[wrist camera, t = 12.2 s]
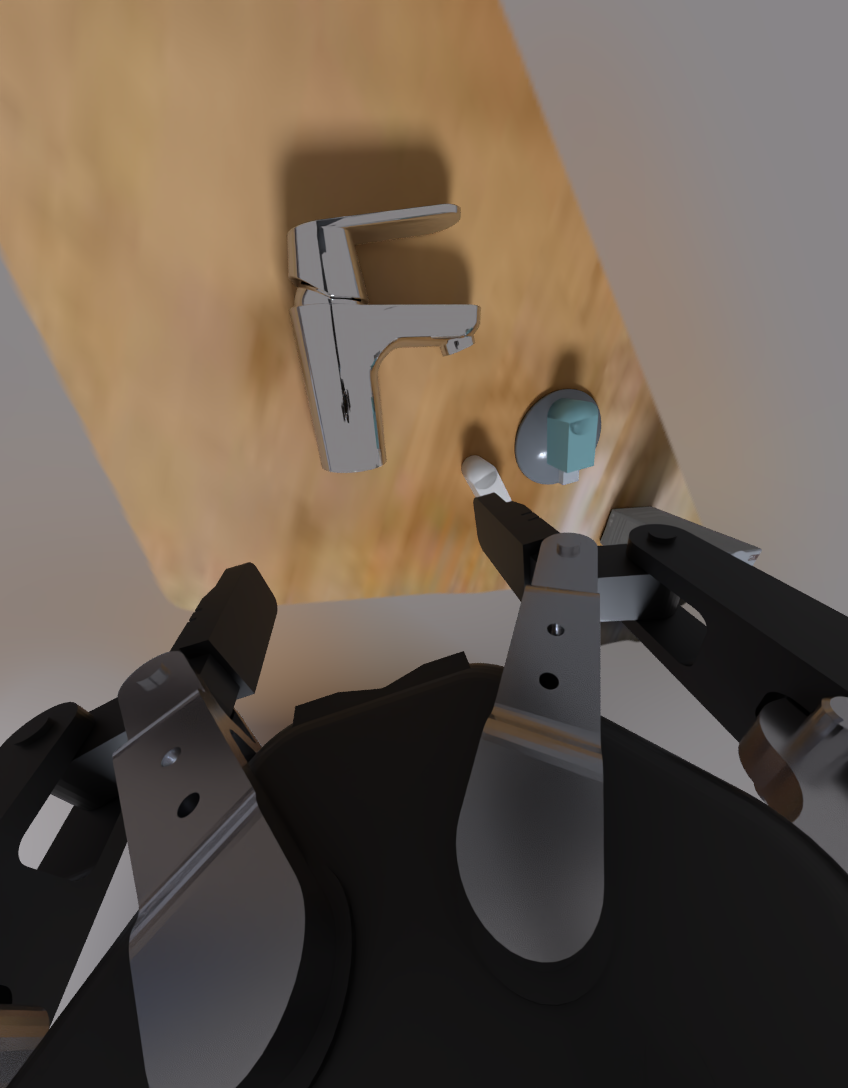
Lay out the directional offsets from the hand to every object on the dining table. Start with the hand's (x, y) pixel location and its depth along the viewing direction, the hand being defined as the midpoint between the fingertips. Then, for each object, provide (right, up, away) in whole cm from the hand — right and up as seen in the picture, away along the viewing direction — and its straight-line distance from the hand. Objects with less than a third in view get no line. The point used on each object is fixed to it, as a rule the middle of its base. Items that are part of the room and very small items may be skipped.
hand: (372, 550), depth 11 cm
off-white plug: (+10, +9, +31) cm, 33 cm away
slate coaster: (+20, +14, +30) cm, 38 cm away
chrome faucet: (-2, +20, +22) cm, 30 cm away
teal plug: (+20, +14, +29) cm, 38 cm away
